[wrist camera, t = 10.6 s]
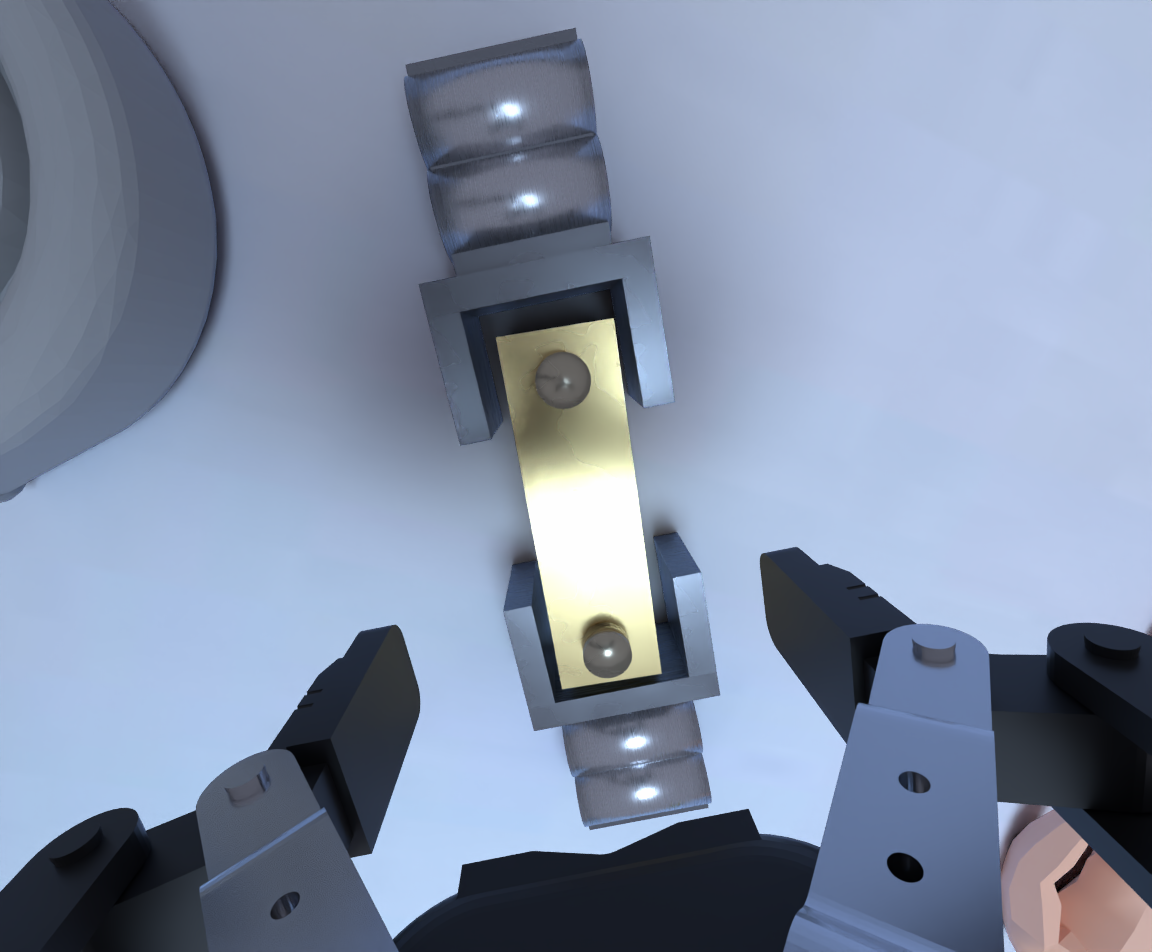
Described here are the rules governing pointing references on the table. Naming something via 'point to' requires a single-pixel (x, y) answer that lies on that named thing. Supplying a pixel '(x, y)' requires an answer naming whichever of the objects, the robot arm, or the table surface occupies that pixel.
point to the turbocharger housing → (92, 233)
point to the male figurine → (1068, 896)
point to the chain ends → (484, 286)
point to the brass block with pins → (582, 499)
